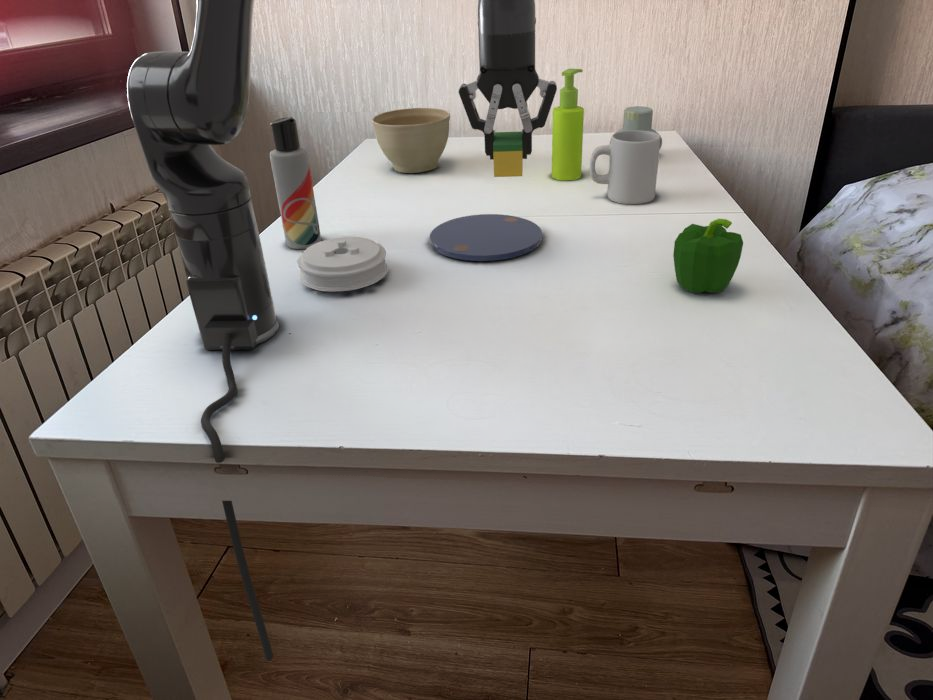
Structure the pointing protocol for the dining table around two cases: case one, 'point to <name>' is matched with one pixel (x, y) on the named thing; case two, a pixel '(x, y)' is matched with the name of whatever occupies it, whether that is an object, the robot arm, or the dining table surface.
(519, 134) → the sponge
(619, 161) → the mug
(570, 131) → the soap dispenser
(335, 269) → the lid
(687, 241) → the bell pepper
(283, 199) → the lotion bottle
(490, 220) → the plate
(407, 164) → the planter bowl
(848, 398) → the dining table surface
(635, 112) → the air freshener
